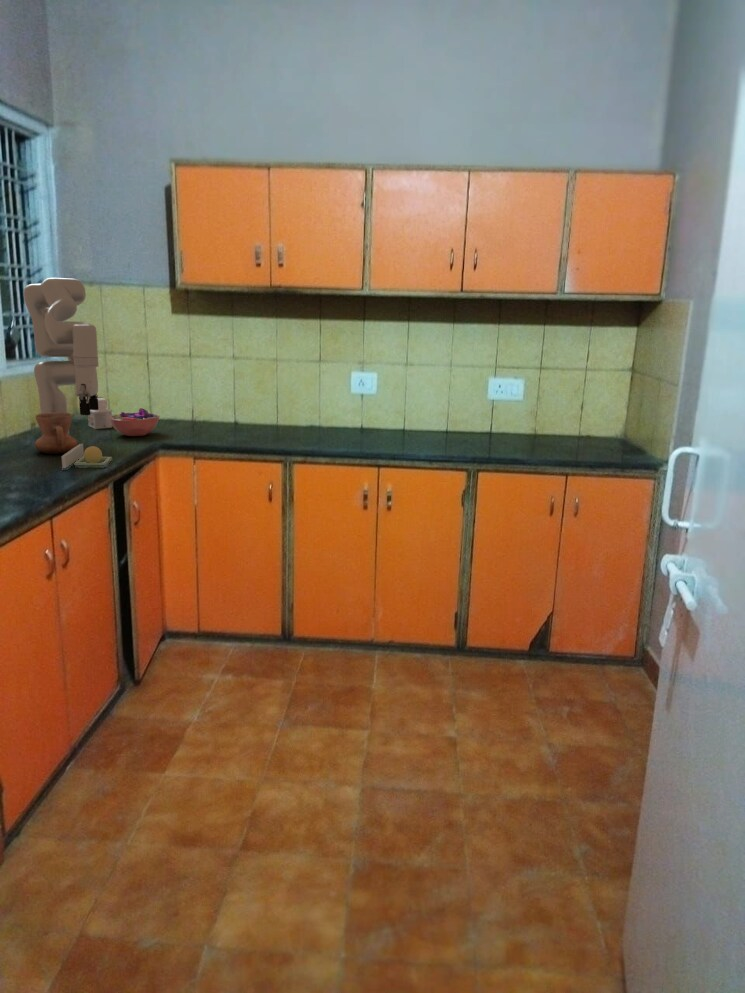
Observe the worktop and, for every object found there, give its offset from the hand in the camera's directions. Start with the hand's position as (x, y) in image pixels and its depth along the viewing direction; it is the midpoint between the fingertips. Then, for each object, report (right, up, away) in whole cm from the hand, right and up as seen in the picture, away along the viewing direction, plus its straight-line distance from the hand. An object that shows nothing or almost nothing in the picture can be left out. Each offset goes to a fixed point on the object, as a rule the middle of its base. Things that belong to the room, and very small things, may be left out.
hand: (89, 412), depth 235 cm
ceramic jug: (-20, -13, +20) cm, 31 cm away
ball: (0, -14, +4) cm, 15 cm away
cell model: (-3, -3, +55) cm, 55 cm away
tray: (-1, -18, +5) cm, 19 cm away
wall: (-8, -17, +5) cm, 20 cm away
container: (-24, +2, +69) cm, 73 cm away
